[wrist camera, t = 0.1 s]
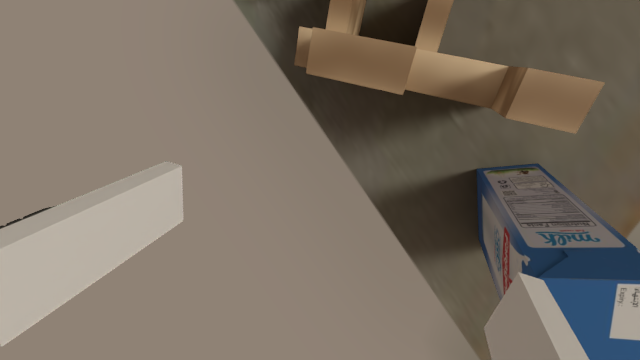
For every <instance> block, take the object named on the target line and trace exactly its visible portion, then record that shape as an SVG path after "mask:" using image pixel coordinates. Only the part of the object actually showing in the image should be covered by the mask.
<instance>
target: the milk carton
mask: <svg viewBox="0 0 640 360" xmlns="http://www.w3.org/2000/svg"><path fill="white" fill-rule="evenodd" d="M477 198H478V230H479V241H480V244H481V247H482V250H483V253H484V255H485V258H486V261H487V264H488V267H489V270H490V272H491V275H492V278H493V281H494V284H495V287H496V290H497V292H498V295H499V298H500V301H501V299H502V298H503V296H504V295H505V293H506V291H507V290H508V288H509V286H510V285H511V283H512V282H513V280H514V278H515V277H516V275H517V273H518V272H519V273H522V274H526V275H529V276H532V277H535V278H538V279H541V280H544V282H545V284H546V286H547V287H548V289H549V291H550V292H551V294H552V296H553V298H554V299H555V301H556V303H557V305H558V306H559V308H560V310H561V311H562V313H563V315H564V317H565V318H566V320H567V322H568V324H569V325H570V327H571V329H572V330H573V332H574V334H575V336H576V337H577V339H578V341H579V343H580V344H581V346H582V348H583V350H584V351H585V353H586V355H587V356H588V358H589V360H640V250H638V249H637V248H636V247H635V246H634V245H633V244H631V243H630V242H629V241H628V240H627V239H626V238H624V237H623V236H622V235H621V234H620V233H618V232H617V231H616V230H615V229H614V228H613V227H611V226H610V225H609V224H608V223H607V222H606V221H604V220H603V219H602V218H601V217H600V216H599V215H597V214H596V213H595V212H594V211H593V210H592V209H590V208H589V207H588V206H587V205H586V204H585V203H583V202H582V201H581V200H580V199H579V198H578V197H576V196H575V195H574V194H573V193H572V192H571V191H569V190H568V189H567V188H566V187H565V186H564V185H562V184H561V183H560V182H559V181H558V180H556V179H555V178H554V177H553V176H552V175H551V174H549V173H548V172H547V171H546V170H545V169H544V168H542V167H541V166H540V165H539V164H528V165H516V166H505V167H493V168H482V169H477Z"/></svg>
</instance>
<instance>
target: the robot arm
mask: <svg viewBox="0 0 640 360" xmlns="http://www.w3.org/2000/svg"><path fill="white" fill-rule="evenodd" d="M182 221H183V191H182V166H181V165H177V164H174V163H171V162H168V161H165V162H163V163H160V164H158V165H156V166H153V167H151V168H148V169H146V170H143V171H141V172H139V173H136V174H133V175H131V176H129V177H126V178H124V179H121V180H119V181H116V182H114V183H111V184H109V185H107V186H104V187H102V188H99V189H97V190H94V191H92V192H90V193H87V194H85V195H82V196H80V197H77V198H75V199H72V200H70V201H67V202H65V203H63V204H60V205H58V206H54V207H49V208H45V209H42V210H39V211H37V212H34V213H32V214H29V215H27V216H25V217H24V218H23V219H17V220H15V221H12V222H10V223H7V225H6V226H0V346H3V345H5V344H6V343H8V342H9V341H11V340H12V339H14V338H15V337H17V336H18V335H19V334H21V333H22V332H23V331H25V330H27V329H28V328H29V327H31V326H32V325H34V324H35V323H37V322H38V321H40V320H41V319H42V318H44V317H45V316H47V315H48V314H49V313H51V312H52V311H54V310H55V309H57V308H58V307H60V306H61V305H63V304H64V303H65V302H67V301H68V300H70V299H71V298H73V297H74V296H76V295H77V294H78V293H80V292H81V291H83V290H84V289H85V288H87V287H88V286H90V285H91V284H93V283H94V282H96V281H97V280H98V279H100V278H101V277H103V276H104V275H106V274H107V273H109V272H110V271H111V270H113V269H114V268H116V267H117V266H119V265H120V264H121V263H123V262H124V261H126V260H127V259H129V258H130V257H132V256H133V255H134V254H136V253H137V252H139V251H140V250H142V249H143V248H144V247H146V246H147V245H149V244H150V243H152V242H153V241H155V240H156V239H157V238H159V237H160V236H162V235H163V234H165V233H166V232H167V231H169V230H170V229H172V228H173V227H175V226H176V225H178V224H179V223H181V222H182ZM484 331H485V335H486V339H487V343H488V346H489V350H490V354H491V358H492V360H589V358H588V356H587V355H586V353H585V351H584V350H583V348H582V346H581V344H580V343H579V341H578V339H577V337H576V336H575V334H574V332H573V330H572V329H571V327H570V325H569V324H568V322H567V320H566V318H565V317H564V315H563V313H562V311H561V310H560V308H559V306H558V305H557V303H556V301H555V299H554V298H553V296H552V294H551V292H550V291H549V289H548V287H547V286H546V284H545V282H544V280H541V279H538V278H535V277H532V276H529V275H526V274H522V273H519V272H518V273H517V275H516V277H515V278H514V280H513V282H512V283H511V285H510V286H509V288H508V290H507V291H506V293H505V295H504V296H503V298H502V299H501V301H500V303H499V304H498V306H497V308H496V309H495V311H494V312H493V314H492V316H491V317H490V319H489V321H488V322H487V324H486V325H485V327H484Z"/></svg>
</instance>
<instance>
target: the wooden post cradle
mask: <svg viewBox="0 0 640 360" xmlns="http://www.w3.org/2000/svg"><path fill="white" fill-rule="evenodd" d="M453 1H454V0H428V2H427V6H426V9H425V13H424V16H423V20H422V23H421V27H420V30H419V33H418V37H417V40H416V44H415V46H410V45H405V44H400V43H394V42H389V41H384V40H378V39H373V38H368V37H363V36H359V33H360V28H361V23H362V19H363V14H364V9H365V4H366V0H330V5H329V11H328V17H327V23H326V29H321V28H315V27H313V29H311V28H305V27H300V26H299V33H298V40H297V48H296V56H295V63H294V65H295V66H300V67H305V68H307V69H306V73H307V74H311V75H316V76H320V77H325V78H329V79H334V80H338V81H342V82H347V83H351V84H356V85H360V86H365V87H369V88H374V89H378V90H383V91H387V92H392V93H396V94H401V95H403V93H404V90H409V91H414V92H418V93H423V94H427V95H432V96H437V97H441V98H446V99H450V100H455V101H459V102H464V103H468V104H473V105H478V106H482V107H487V108H491V109H493V110H494V111H496V112H497V113H499V114H500V115H502V116H503V117H505V118H508V119H512V120H517V121H521V122H526V123H530V124H535V125H539V126H544V127H548V128H553V129H557V130H562V131H566V132H571V133H575V134H576V132H577V131H578V129H579V127H580V125H581V124H582V122H583V120H584V118H585V117H586V115H587V113H588V111H589V110H590V108H591V106H592V104H593V103H594V101H595V99H596V97H597V96H598V94H599V92H600V90H601V89H602V87H603V85H604V84H605V82H600V81H594V80H589V79H584V78H579V77H573V76H568V75H563V74H558V73H552V72H547V71H542V70H537V69H531V68H523V67H510V66H504V65H499V64H494V63H489V62H483V61H478V60H473V59H468V58H462V57H457V56H452V55H447V54H441V53H437V50H438V47H439V44H440V41H441V38H442V35H443V32H444V29H445V26H446V22H447V19H448V16H449V13H450V10H451V7H452V4H453Z"/></svg>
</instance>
